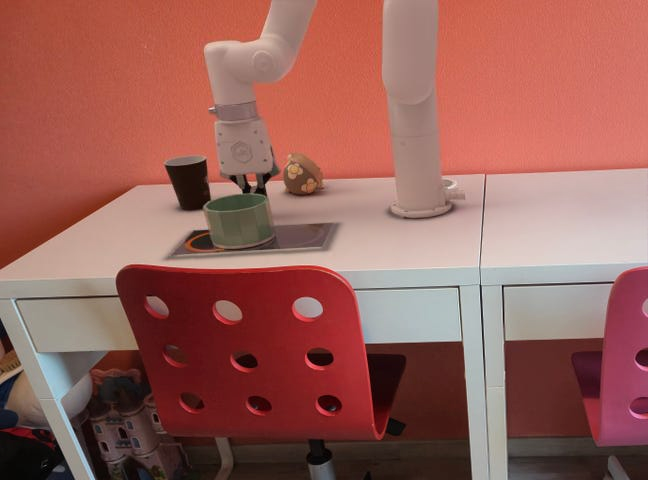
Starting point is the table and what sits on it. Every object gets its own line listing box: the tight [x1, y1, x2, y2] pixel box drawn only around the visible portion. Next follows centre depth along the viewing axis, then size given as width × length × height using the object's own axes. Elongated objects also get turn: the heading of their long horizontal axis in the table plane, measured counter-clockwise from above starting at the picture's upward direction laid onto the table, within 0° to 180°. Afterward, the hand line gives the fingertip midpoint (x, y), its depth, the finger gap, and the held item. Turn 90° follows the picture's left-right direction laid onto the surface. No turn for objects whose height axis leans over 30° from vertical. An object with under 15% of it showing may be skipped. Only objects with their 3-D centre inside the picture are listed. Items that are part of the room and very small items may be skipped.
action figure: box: [282, 152, 324, 196], centre depth 161 cm, size 10×11×15 cm
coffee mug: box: [163, 155, 212, 211], centre depth 155 cm, size 12×9×10 cm
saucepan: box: [202, 185, 275, 249], centre depth 136 cm, size 11×20×7 cm, turn 2°
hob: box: [167, 222, 334, 258], centre depth 134 cm, size 28×14×1 cm, turn 92°
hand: (257, 205), depth 144 cm, fingers closed on saucepan
